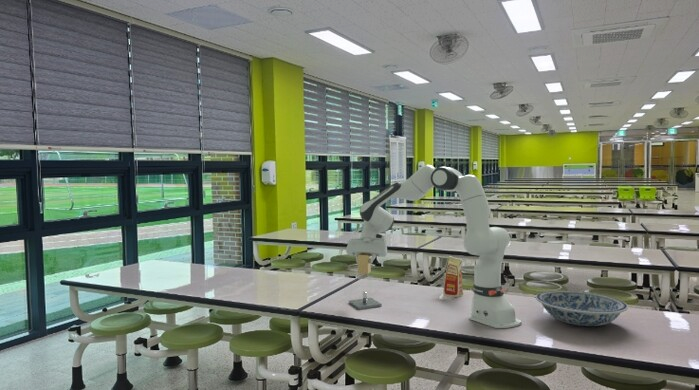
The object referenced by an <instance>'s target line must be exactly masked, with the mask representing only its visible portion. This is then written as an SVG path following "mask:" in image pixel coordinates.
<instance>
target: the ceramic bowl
mask: <svg viewBox="0 0 699 390" xmlns="http://www.w3.org/2000/svg"><path fill="white" fill-rule="evenodd" d="M535 299H536V301H537V302H538V303H540V304H541V305H542V306H543V308H544V309H545V312H547V313H548V314H549V315H550V316H552V318H555V320H558V321H560V322H563V323H565V324H571V325H574V326H580V327H582V326H583V327H598V326H603V325H607V324H610V323H612V322H613V321H615V320H616V319H617V318H618V317H619V316H620V315H621V313H624V312H626V311H627V310H628V309H629V305H628V304H627V303H626V302H624V301H622V300H620V299H617V298H616V297H615V298H614V297H612V296H607V295H604V294H599V293H594V292H593V293H592V292H586V291H578V290H549V291H543V292H540V293H537V294H536V295H535Z"/></svg>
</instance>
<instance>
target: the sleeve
mask: <svg viewBox="0 0 699 390" xmlns="http://www.w3.org/2000/svg"><path fill="white" fill-rule="evenodd" d="M369 258H370V259H371V258H372V256H371V255H370V253H360V254H359V255H358V263H357V274H361V275H362V274H363V275H369V274H370V273H371V272H372V271H371V270H372V269H371V267H372V266H371V264H372V263H369Z"/></svg>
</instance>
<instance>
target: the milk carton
mask: <svg viewBox="0 0 699 390" xmlns="http://www.w3.org/2000/svg"><path fill="white" fill-rule="evenodd" d="M463 261H464V259H463V258H456V257H454V256H451V255H448V261H447V266H446V270H445V275H444V280H443V281H444V282H443V288H442V289H443V293H442V294H443V295H442V297H443V296H445V297H451V298H452V297H454V298H459V297H463V296H464V291H463V270H462V262H463Z"/></svg>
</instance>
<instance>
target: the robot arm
mask: <svg viewBox="0 0 699 390" xmlns="http://www.w3.org/2000/svg"><path fill="white" fill-rule="evenodd" d="M434 188H435V189H437V190H440V191H444V192H448V193H450V192H451V193H457V194H458V197H459V199H460V202H461V206H462V209H463V213H464V217H465V221H466V233H465V235H464V238H463V242H462V243H463V247H464V249H465V252H466V253H468V254H470V255H471V256H472V255H473V256H478V260H477V261H476V263H475V264H474V267H473V268H474V269H473V271H474V272H473V273H474V275H473V276H474V277H473V278H474V283H473V285H472V286H473V287H472V290H473V297H472V300H471V309H470V315H469V317H468V319H469V320H471V321H474V322H477V323H478V324H479V323H480V324H483V325H486V326H488V327H492V328H495V329H507V328H508V329H509V328H513V327H517V326H520V325H522V323H523V322H522V320H520V319H519V318H517V317H516V309H515V307H514V306H513V304H511V303H510V302H509V300H508V299H507V298H506V297H505V295H504V293H505V292H506V291H505V290H506V289H503V286H502V284H501V281H502V280H501V277H502V276H501V275H502V274H501V272H502V264H503V260H504V255H505V252H506V250H507V247H508V246H509V244H510V243H511V236H510V234H509V232H508V231H507V230H506V229H505V228H504V227H499V226H492V227H490V216H491V213H492V210H491V208H490V205H489V204H490V203H489V201H488V199H487V195H486V193H485V190H484V188H483V186H482V183H481V181H480V180H479V178H478V177H477V176H476V175H473V174H466V175H464V174H463V172H461V171H460V170H459V169H455V168H453V167H450V166H448V167H447V166H439V167H437V168H436V167H434V166H433V165H431V164H425V165H424V166H422V167H421V168H419V169H418V170H417V171H416V172H413V174H412V175H411V176H410V177H408V178H407V179H406V180H403V181H399V182H398V181H396V182H394V183H392V184H391V185H390V186H388V187H386V188H385V189H383V190H382V191H381V192H380V193H378V194H376V196H374V197H372V198H371V199H369V200H367V201H365V202H364V203H362V205H361V206H360V208H359V215H360V219H362V220H363V224H362V230H361V233H360V237H359V238H350V239H349V240H347V241H348V242H347V246H346V247H345V248H346V249H345V252H346V254H347V255H348V256H355V263H357V264H358V255H359V254H360V253H370V255H371V259H370V258H369V263H371V264H373V262H374V260H375V259H376V258H377V257H379V258H380V257H382V258H385V257H386V256H387V255H388V246H387V239H386V237H385V235H383V234H382V233H385V232H387V231H390V230H391V229H393V226H394V224H395V218H394V215H393V214H392V213H390V212H389V211H387V210H385V209H384V208H383V207H381V206H383V205H384V204H385V203H387V202H388V201H390V200H392V199H403V200H406V201H413V202H414V201H415V202H416V201H419V200H421V199H422V198H424V197H425V196H426V195H427V194H428V193H429V192H431V190H432V189H434Z"/></svg>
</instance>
